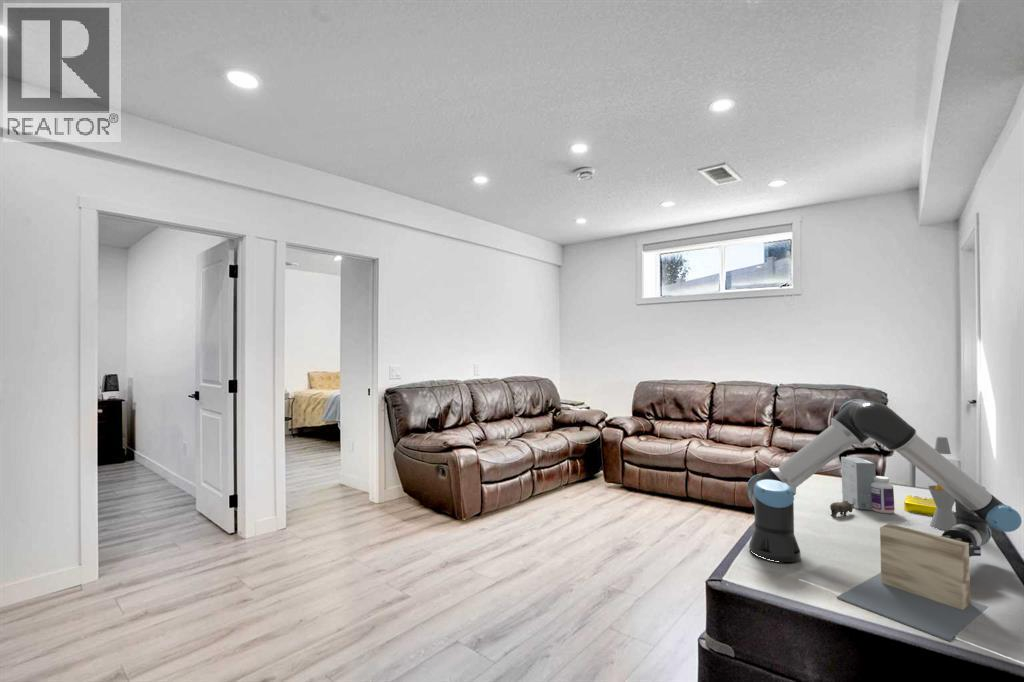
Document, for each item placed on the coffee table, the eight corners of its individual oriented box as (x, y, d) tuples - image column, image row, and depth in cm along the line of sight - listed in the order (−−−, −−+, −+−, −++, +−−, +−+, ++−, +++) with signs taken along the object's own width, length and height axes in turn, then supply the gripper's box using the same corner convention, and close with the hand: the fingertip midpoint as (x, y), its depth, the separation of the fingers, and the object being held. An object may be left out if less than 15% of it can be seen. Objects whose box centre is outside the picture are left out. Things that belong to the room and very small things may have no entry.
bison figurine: (859, 515, 203) (859, 500, 203) (837, 519, 198) (836, 504, 198) (849, 512, 207) (849, 498, 207) (827, 516, 202) (826, 501, 202)
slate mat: (881, 573, 148) (881, 572, 148) (988, 608, 128) (988, 606, 128) (836, 598, 133) (836, 596, 133) (950, 641, 113) (950, 640, 113)
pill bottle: (893, 510, 208) (892, 476, 209) (895, 515, 202) (894, 480, 202) (870, 507, 213) (868, 474, 213) (871, 512, 206) (870, 478, 207)
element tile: (903, 511, 208) (903, 500, 208) (907, 504, 219) (907, 493, 219) (950, 520, 198) (950, 508, 198) (952, 511, 208) (952, 500, 208)
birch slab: (890, 577, 145) (889, 523, 145) (970, 603, 130) (968, 543, 130) (881, 582, 141) (880, 527, 142) (962, 610, 126) (960, 547, 127)
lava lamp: (958, 533, 181) (955, 439, 182) (927, 527, 188) (924, 436, 189) (962, 528, 187) (959, 437, 188) (931, 522, 194) (929, 434, 195)
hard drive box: (878, 510, 207) (876, 463, 208) (857, 509, 209) (855, 463, 210) (860, 500, 222) (858, 456, 223) (841, 499, 224) (840, 456, 225)
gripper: (990, 558, 147) (963, 578, 134) (935, 544, 158) (905, 561, 145) (989, 533, 147) (962, 550, 134) (934, 521, 158) (904, 535, 145)
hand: (932, 556), depth 139 cm, fingers closed
